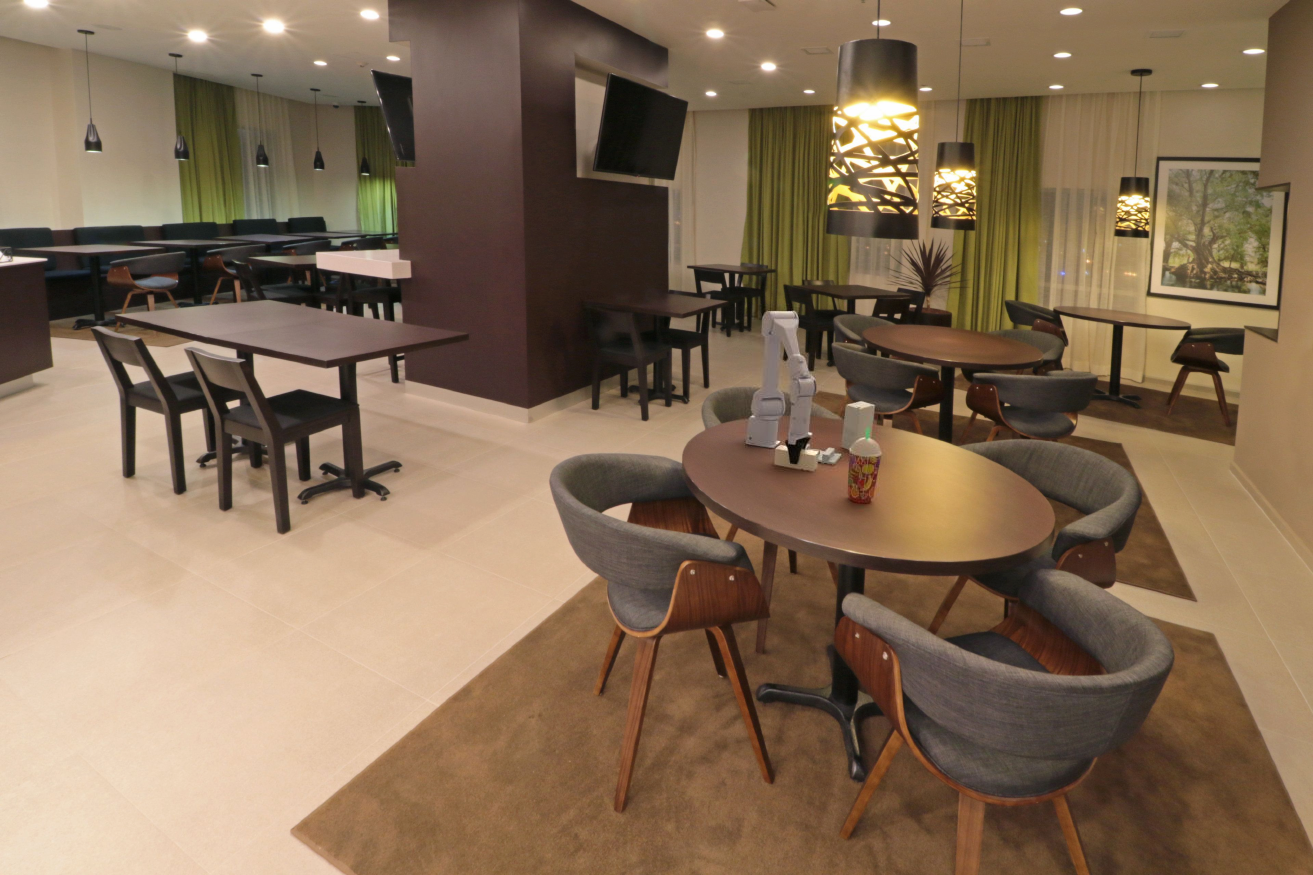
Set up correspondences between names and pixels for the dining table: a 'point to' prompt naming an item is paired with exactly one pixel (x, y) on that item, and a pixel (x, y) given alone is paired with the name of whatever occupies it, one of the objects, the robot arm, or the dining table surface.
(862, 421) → the skincare box
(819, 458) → the display stand
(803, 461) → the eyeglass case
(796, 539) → the dining table surface
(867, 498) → the smoothie
